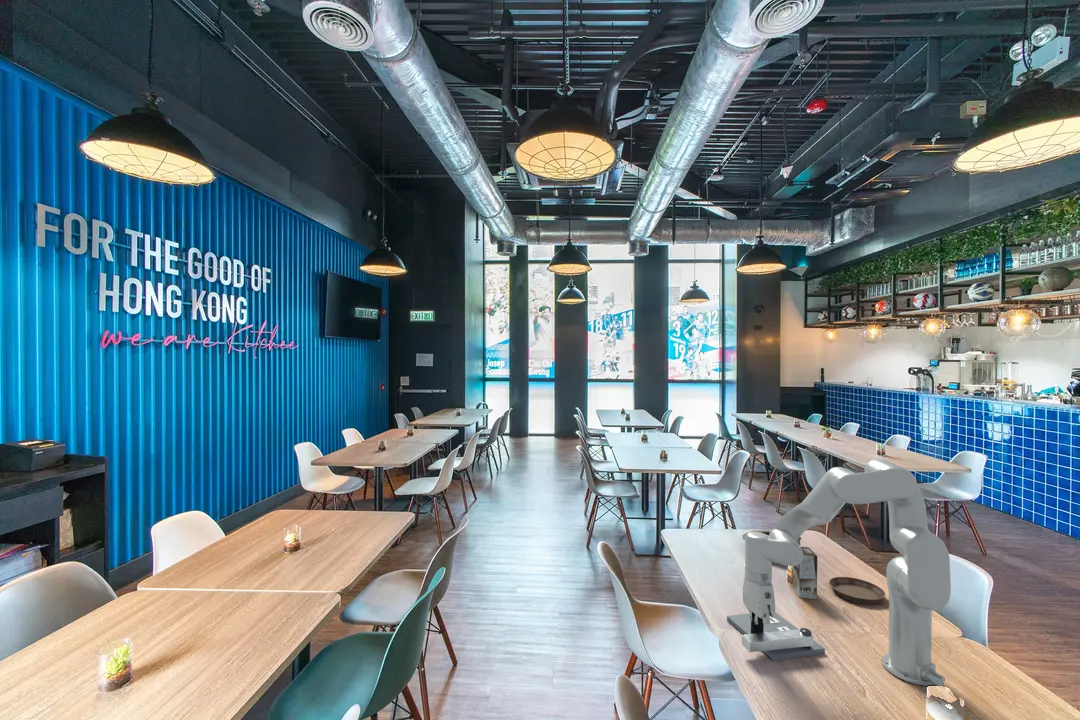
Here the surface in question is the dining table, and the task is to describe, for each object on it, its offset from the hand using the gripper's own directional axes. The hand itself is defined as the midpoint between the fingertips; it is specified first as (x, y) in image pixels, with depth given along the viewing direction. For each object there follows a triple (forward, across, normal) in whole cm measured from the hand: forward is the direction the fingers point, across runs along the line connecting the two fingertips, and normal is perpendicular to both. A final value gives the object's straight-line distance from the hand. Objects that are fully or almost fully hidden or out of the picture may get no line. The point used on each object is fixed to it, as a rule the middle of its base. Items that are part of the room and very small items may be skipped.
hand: (757, 634), depth 142 cm
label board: (+4, +5, -9) cm, 11 cm away
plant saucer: (+4, +26, -59) cm, 64 cm away
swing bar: (+2, -4, -5) cm, 6 cm away
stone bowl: (+4, +67, -52) cm, 84 cm away
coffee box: (+4, +30, -39) cm, 49 cm away
